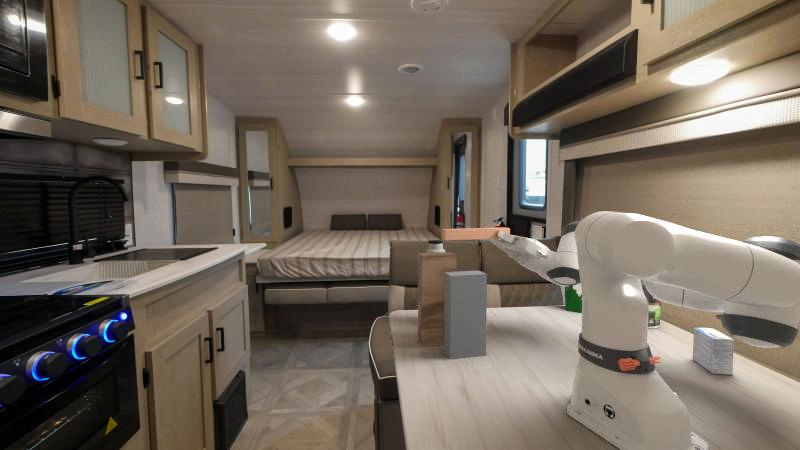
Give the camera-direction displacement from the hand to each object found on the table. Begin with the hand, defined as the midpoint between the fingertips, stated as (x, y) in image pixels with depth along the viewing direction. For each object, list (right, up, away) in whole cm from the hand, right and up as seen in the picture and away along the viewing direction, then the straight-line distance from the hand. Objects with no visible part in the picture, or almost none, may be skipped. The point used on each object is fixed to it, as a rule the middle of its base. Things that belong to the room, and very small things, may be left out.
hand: (494, 231), depth 107 cm
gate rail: (-6, -2, -1) cm, 6 cm away
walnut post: (-17, -32, -2) cm, 37 cm away
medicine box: (+49, -33, -18) cm, 62 cm away
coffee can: (+52, -31, +13) cm, 62 cm away
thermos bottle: (-16, -31, +16) cm, 39 cm away
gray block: (-10, -33, -9) cm, 36 cm away
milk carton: (+39, -30, +29) cm, 57 cm away
